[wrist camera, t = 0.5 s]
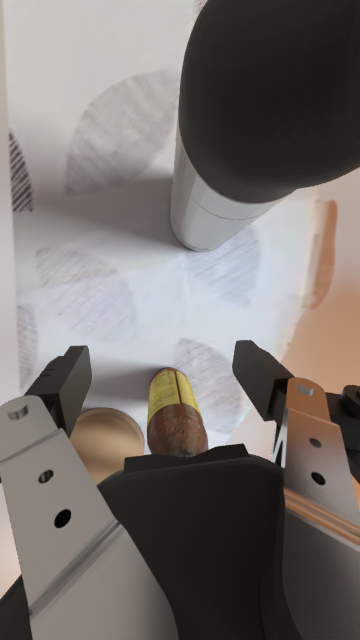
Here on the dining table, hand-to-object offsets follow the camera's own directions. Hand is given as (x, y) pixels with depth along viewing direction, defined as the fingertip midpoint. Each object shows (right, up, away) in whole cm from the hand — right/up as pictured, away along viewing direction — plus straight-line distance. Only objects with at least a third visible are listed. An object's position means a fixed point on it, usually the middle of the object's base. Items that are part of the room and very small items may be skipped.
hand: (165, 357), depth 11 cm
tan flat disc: (-12, -18, +22) cm, 31 cm away
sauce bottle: (-1, -8, +22) cm, 23 cm away
